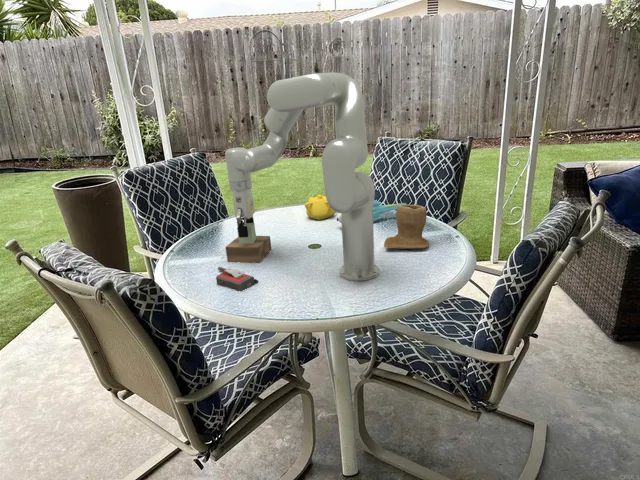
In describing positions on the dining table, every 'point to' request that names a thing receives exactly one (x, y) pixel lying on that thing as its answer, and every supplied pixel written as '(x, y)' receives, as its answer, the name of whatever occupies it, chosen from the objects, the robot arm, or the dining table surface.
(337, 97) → the robot arm
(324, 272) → the dining table surface
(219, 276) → the walkie-talkie
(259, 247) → the walnut box
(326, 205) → the teapot
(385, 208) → the decorative bird
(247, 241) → the sage block
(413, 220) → the clay spout
